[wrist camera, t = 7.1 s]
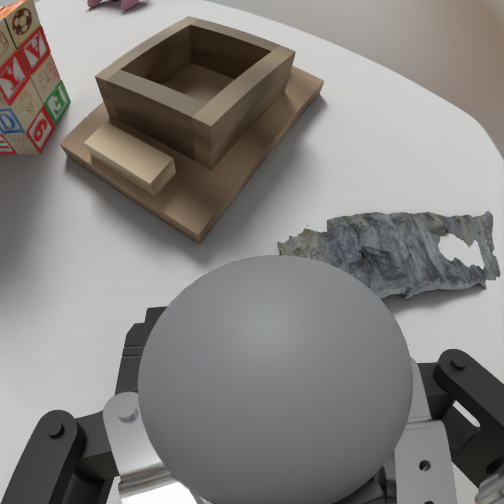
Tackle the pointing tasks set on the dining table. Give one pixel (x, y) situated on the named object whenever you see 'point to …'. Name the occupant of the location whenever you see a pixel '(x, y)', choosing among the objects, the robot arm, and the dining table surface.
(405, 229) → the driftwood
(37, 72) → the stack of blocks
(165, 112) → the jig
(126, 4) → the video game controller
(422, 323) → the dining table surface
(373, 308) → the ball on cylinder
